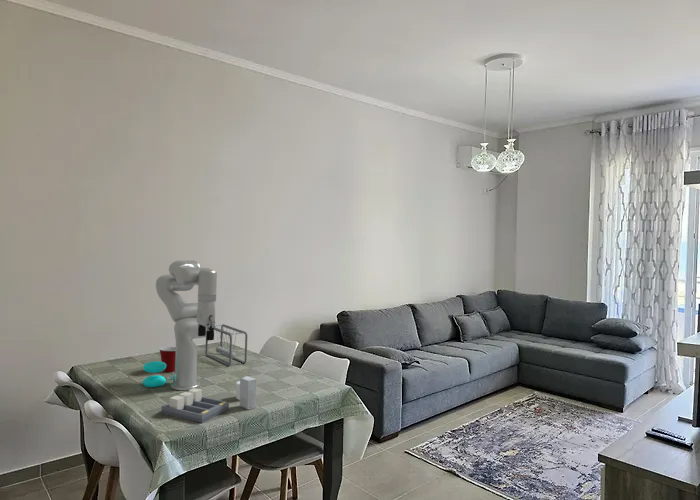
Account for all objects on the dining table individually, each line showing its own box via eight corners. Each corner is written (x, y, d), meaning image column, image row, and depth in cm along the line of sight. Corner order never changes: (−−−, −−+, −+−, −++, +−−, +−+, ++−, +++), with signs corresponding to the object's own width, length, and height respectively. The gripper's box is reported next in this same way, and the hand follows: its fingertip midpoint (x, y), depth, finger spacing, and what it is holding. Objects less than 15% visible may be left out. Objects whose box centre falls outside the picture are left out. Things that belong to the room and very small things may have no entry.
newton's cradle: (204, 355, 276) (205, 325, 276) (221, 353, 283) (222, 323, 283) (229, 367, 254) (230, 334, 253) (246, 364, 261) (247, 332, 260)
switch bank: (161, 413, 186) (161, 405, 186) (189, 401, 200) (190, 393, 200) (202, 423, 178) (202, 414, 178) (228, 409, 193) (228, 401, 193)
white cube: (169, 409, 185) (169, 398, 185) (176, 406, 189) (176, 395, 189) (177, 411, 184) (177, 399, 184) (183, 408, 187) (184, 397, 187)
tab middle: (178, 405, 190) (179, 394, 190) (185, 402, 194) (185, 391, 193) (186, 407, 189) (187, 395, 189) (192, 404, 192) (193, 393, 192)
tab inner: (187, 401, 195) (188, 390, 195) (194, 398, 198) (194, 388, 198) (195, 403, 193) (196, 392, 193) (201, 400, 197) (201, 389, 197)
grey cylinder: (244, 394, 212) (244, 378, 211) (254, 398, 207) (254, 382, 207) (231, 398, 206) (232, 382, 206) (241, 402, 202) (242, 385, 202)
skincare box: (256, 407, 196) (257, 378, 196) (247, 410, 193) (248, 380, 192) (247, 403, 200) (248, 375, 200) (238, 406, 197) (239, 377, 196)
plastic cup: (184, 368, 247) (185, 346, 247) (174, 374, 236) (175, 350, 236) (164, 367, 248) (165, 344, 248) (153, 373, 237) (154, 349, 237)
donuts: (138, 364, 216) (152, 359, 226) (137, 386, 216) (152, 380, 226) (156, 367, 214) (170, 361, 223) (156, 389, 214) (170, 382, 223)
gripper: (191, 296, 207) (190, 335, 207) (205, 301, 193) (204, 342, 194) (208, 295, 212) (207, 333, 212) (223, 300, 198) (222, 341, 198)
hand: (205, 337), depth 203 cm, fingers open, 9 cm apart
